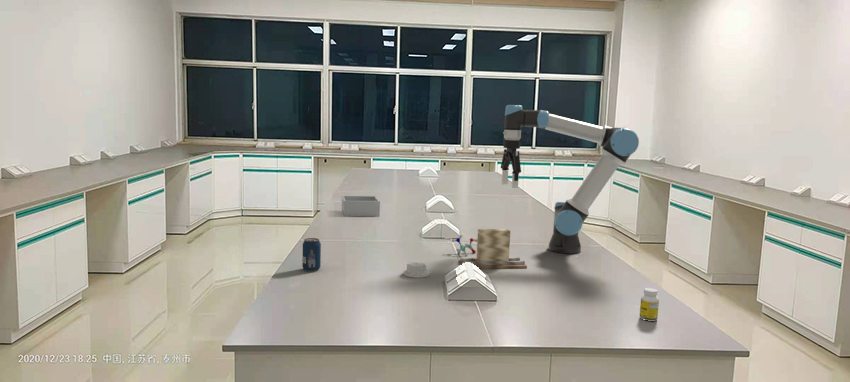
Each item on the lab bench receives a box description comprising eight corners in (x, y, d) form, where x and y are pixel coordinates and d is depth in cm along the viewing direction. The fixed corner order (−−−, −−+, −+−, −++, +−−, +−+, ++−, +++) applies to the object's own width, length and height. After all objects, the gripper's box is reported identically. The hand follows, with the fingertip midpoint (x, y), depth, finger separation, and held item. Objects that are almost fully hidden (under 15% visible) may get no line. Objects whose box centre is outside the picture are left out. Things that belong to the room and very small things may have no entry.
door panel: (505, 261, 261) (507, 229, 259) (508, 263, 258) (510, 230, 256) (476, 261, 259) (478, 229, 257) (478, 263, 255) (480, 230, 253)
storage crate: (375, 210, 384) (375, 196, 383) (379, 216, 364) (379, 201, 363) (341, 210, 380) (341, 195, 379) (343, 216, 360) (344, 201, 359)
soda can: (313, 266, 245) (314, 237, 243) (323, 270, 240) (324, 240, 238) (298, 269, 240) (299, 239, 238) (308, 273, 235) (309, 242, 233)
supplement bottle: (636, 316, 199) (639, 287, 198) (652, 316, 199) (655, 287, 198) (643, 322, 193) (646, 292, 192) (660, 322, 194) (663, 292, 193)
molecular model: (476, 250, 269) (467, 229, 272) (456, 259, 271) (448, 238, 274) (483, 252, 280) (474, 232, 283) (464, 261, 282) (455, 240, 285)
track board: (516, 261, 267) (517, 256, 267) (526, 268, 255) (527, 263, 255) (458, 261, 262) (459, 256, 261) (466, 269, 250) (466, 263, 250)
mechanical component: (423, 279, 233) (432, 273, 242) (424, 268, 232) (432, 262, 241) (399, 276, 236) (408, 270, 245) (399, 265, 235) (409, 259, 245)
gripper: (495, 137, 289) (493, 182, 291) (513, 140, 265) (511, 189, 267) (510, 138, 290) (508, 182, 293) (530, 141, 266) (527, 189, 269)
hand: (509, 186), depth 280 cm, fingers open, 13 cm apart
